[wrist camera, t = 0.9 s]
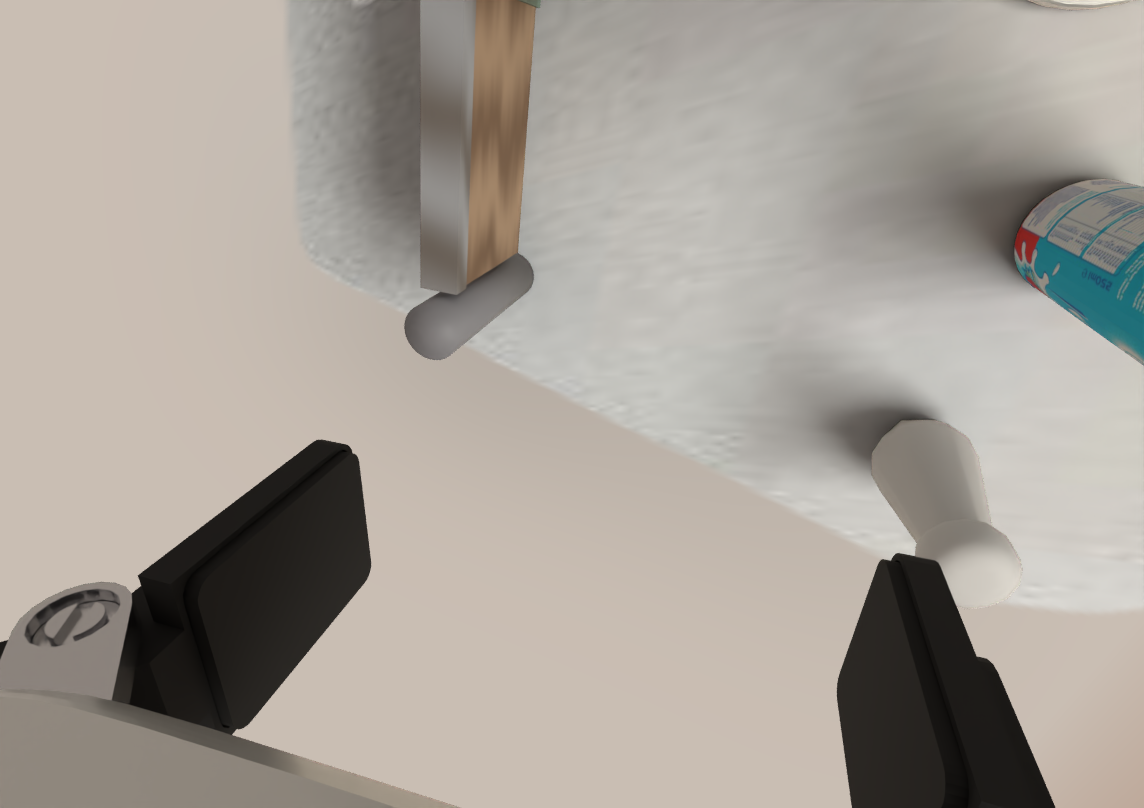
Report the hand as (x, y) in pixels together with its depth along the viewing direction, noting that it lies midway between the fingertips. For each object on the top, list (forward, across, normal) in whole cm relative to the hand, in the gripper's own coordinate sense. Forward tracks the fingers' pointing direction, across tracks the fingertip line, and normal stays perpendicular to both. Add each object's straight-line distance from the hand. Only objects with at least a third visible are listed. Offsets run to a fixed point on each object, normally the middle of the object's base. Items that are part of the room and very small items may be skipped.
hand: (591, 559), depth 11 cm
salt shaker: (+31, -15, +12) cm, 36 cm away
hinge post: (+31, +13, +4) cm, 33 cm away
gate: (+29, +12, -6) cm, 32 cm away
